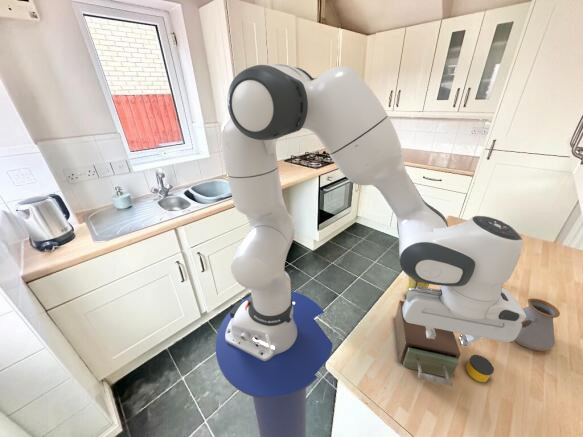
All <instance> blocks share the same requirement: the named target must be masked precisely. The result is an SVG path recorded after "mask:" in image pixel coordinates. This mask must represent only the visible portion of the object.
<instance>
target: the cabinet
mask: <svg viewBox="0 0 583 437" xmlns="http://www.w3.org/2000/svg"><path fill="white" fill-rule="evenodd" d="M404 302H405V300H399V302H398V306H397V308H396V309H397V310H396V313H395V317H394V323H395V324H394V325H395V332H396V333H395V334H396V341H397V349H398V360H399V363H402V364H403V361H404V358H405V355H406V352H407V349H408V346H409V345H410V346H415V347H419V348H424V349H428V350H433V351H438V352H442V353H447V354H451V355H452V356H451V357H454V358H458V360H460V357H461V356H462V353H461V351H460V348H459V345H458V342H457V339H456V336H455V332H452V331H447V330H442V329H437V328H434V329H435V333H436V337H435V339H429V338H427V336H426V328H425V326H422V325H417V324H412V323H408V322H406V320H405V319H404V317H403V311H402V308H403V305H404Z"/></svg>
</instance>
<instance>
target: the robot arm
mask: <svg viewBox="0 0 583 437" xmlns="http://www.w3.org/2000/svg"><path fill="white" fill-rule="evenodd" d="M226 102H227V104H226V105H227V109H228V114H229V116H230V117H228V118H227V119H226V120H225V121H224V122H223V123H222V126H221V130H220V133H221V134H220V136H221V151H222V157H223V164H224V169H225V173H226V177H227V182H228V185H229V189H230V190H229V191H230V193H231V197H232V201H233V205H234V206H233V207H235V209H236V210H237V211H238V212H239V213H241V214H243V215H245V217H246V218H247V220H248V223H249V230H248V233H247V235H246V236H245V237H244V238H243V240H242V241H241V242H240V244H239V245H238V247H237V248H236V251H235V253H234V256H233V257H232V258H233V259H232V261H231V265H230V272H231V274H232V277H233V278H234V280H235V281H236V282H237V283H238V284H239V285H240V286H242V287H243V288H245V289H248V290H250V295H249V296H248V297H249V298H248V297H247V298H248V300H247V301H245V302H244V303H243V304H242V303H240V302H239V301H238V302H237V303H236V304H235V305H234V306H233V308H232V309H231V310H230V311H231V312H230V311H229V312H230V316H231V318H232V319H231V320H230V322H229V324H228V326H227V329H226V334H225V339H226V342H228V343H230V344H231V345H233V346H235V347H237V348H239V349H241V350H243V351H245V352H247V353H249V354H251V355H253V356H255V357H257V358H259V359H261V360H263V361H267V360H269V359H270V358H272V357H273V356H274V355H276V354H279V353H282V352H284V351H286V350H287V349H289V348H290V347H291V346H292V345H293V344H294V342H295V340H296V338H297V326H296V324H295V322H294V319H293V304H295V302H293V300H292V296H291V291H292V287H291V285H292V284H291V282H292V281H291V276H290V275H289V273H288V272H287V271H286V270H285V265H286V262H287V256H288V253H289V251H290V248H291V246H292V244H293V242H294V238H295V233H296V232H295V231H296V223H295V219H294V218H293V216H292V215H291V214H290V213H289V212H288V209H287V206H286V203H285V200H284V196H283V189H282V184H281V183H282V182H281V176H280V170H279V164H278V156H277V148H276V147H277V142H278V139H281V138H282V137H285V136H288V135H290V134H293V133H296V132H298V131H301V130H302V129H306V130H309V131H311V133H313V134H314V135H315V136H316V137H317V138H318V139H319V141H320V142H321V144H322V145H323V147H324V149H325V150H326V152H327V154H328V155H329V157H330V159H331V160H332V161H333V163H334V165H335V166H336V168H337V169H338V170H339V171H340V173H341V174H342V175H343V176H344V177H345V178H346V179H347V180H348V181H349V182H351V183H352V184H355V185H358V186H373V187H375V188H376V189H377V190H378V191H379V193H380V194H381V195H382V197H383V198H384V200H385V201H386V203H387V204H388V206H389V207H390V209H391V210H392V212H393V214H394V215H395V217H396V221H397V222H396V229H397V235H398V254H399V255H398V256H399V265H400V268H401V270H402V271H403V273H404V274H405V275H406V276H407V277H408V278H409V277H411V278H412V279H414V280H416V281H419V282H422V283H427V284H429V285H435V286H440V287H439V289H438V288H429V287H428V288H424V287H416V288H411V289H409V290H408V291H407V294H406V293H405V299H404V301H405V302H404V305H403V308H402V311H403V317H404V319H405V320H406V322H408V323H412V324H417V325H422V326H425V328H426V336H427V338H429V339H435V337H436V333H435V329H434V328H437V329H442V330H447V331H452V332H453V333H457V334H459V337H458V342H459V345H460V346H462V347H467V348H469V347H470V346H471V344H472V343H475V342H478V341H479V340H481V339H482V338H483V339H486V340H487V339H488V340H492V341H497V342H501V343H510V342H515V341H514V340H515V339H516V337H517V336H518V334H519V332H520V330H521V328H522V323H521V322H522V321H524V320H525V318H526V314H525V312H524V311H523V307H522V306H521V304H520V303H519V301H518V300H517V298H516V297H515V296H514V295H513V294H512V293H511V291H510V290H508V289H506V288H503V286H504V284H505V283H506V282H508V281H509V280H510V278H511V277H512V275H513V274H514V271H515V269H516V267H517V264H518V262H519V260H520V257H521V254H522V251H523V247H524V246H523V244H524V242H523V238H522V236H521V235H520V234H519V233H518V232H517V230H515V229H514V228H513V226H510V224H507V223H505V222H503V221H502V220H499V219H497V218H494V217H491V216H486V215H474V216H471V217H470V218H469V219H467V220H466V221H465V220H464V221H463V222H460V223H457V224H454V225H450V226H449V224H448V221H447V219H446V217H445V215H443V213H442V212H440V211H439V210H438V209H436V208H434V207H433V206H432V205H430V204H428V203H427V202H426V201H425V200H424V198H423V197H422V195H421V194H420V192H419V190H418V189H417V187H416V186H415V184H414V182H413V181H412V179H411V177H410V175H409V173H408V172H407V169H406V166H405V158H404V157H405V156H404V152H403V148H402V144H401V141H400V138H399V136H398V133H397V131H396V129H395V126H394V124H393V122H392V120H391V118H390V116H389V115H388V113H387V111H386V110H385V108H384V106H383V104H382V103H381V102H380V100H379V98H378V97H377V95H376V94H375V93H374V91H373V90H372V88H371V87H370V86H369V85H368V84H367V82H366V81H365V79H363V78H362V76H361V75H359V73H358V72H357V71H356V70H355V69H354V68H353V67H350V66H346V65H339V66H335V67H331V68H329V69H327V70H326V71H324V72H322V73H321V74H320V75H318V76H317V77H316V78H314V77H312V75H311V74H309V73H308V72H307V71H306V70H304V69H302V68H300V67H297V66H296V67H295V66H291V65H288V64H282V63H277V64H271V65H268V64H256V65H253V66H249V67H247V68H245V69H243V70H242V71H240V72H239V73H237V75H236V76H235V77H234V78H233V80H232V81H231V82H230V85H229V88H228V92H227V100H226ZM228 332H230V333H228ZM261 354H263V355H261Z"/></svg>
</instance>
